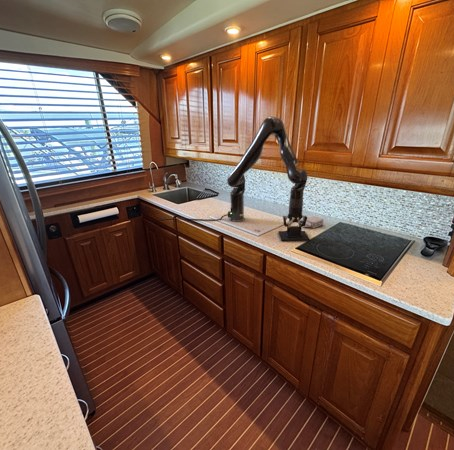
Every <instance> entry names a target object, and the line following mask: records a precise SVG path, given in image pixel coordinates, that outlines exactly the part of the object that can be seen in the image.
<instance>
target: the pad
mask: <svg viewBox="0 0 454 450" xmlns="http://www.w3.org/2000/svg"><path fill="white" fill-rule="evenodd" d="M298 226H299V225H290V233H289V234H290V235H300V229H299V227H298Z"/></svg>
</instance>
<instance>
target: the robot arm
mask: <svg viewBox="0 0 454 450" xmlns="http://www.w3.org/2000/svg"><path fill="white" fill-rule="evenodd" d="M271 136H274V138H275V139H276V140H277V143H278V146H279V153H280V154H279V155H280V157H281V161H282V162H283V164H284V166H285V170H286V174H287V178H288V180H289V181H290V183H292V184H294V185H293V186H292V187H291V188H290V192H289V193H290V195H289V200H288V213H287V215H283V216H282V220H283V225H284V227H285V228H286V231H287V232H288V233H290V226H292V224H293V223H296V224H298V225H297V226H298V227H299V229H300V232H301V231H302V228H303V227H305V224H306V221H307V217H308V216H307V215H303V208H304V190H305V188H306V184H307V182H308V172H307V171H306V169H304V168H298V169H297V165H298V164H299V160H298V158H297V156H296V154H295V152H294V150H293V147H292V145H291V143H290V140H289V137H288V134H287V130H286V127H285V124H284V122H283V120H282V119H281V118H279V117H275V116H267V117H266V118H265V119H264V120H263V121H262V123H261V125H260V126H259V129H258V130H257V132H256V134H255V136H254V138H253V139H252V141H251V143H250V144H249V146H248V147H247V149H246V151H245V152H244V153H243V155H242V156H241V158H240V160H239V161H238V163H237V165H236V166H235V167H234V169H232V170H231V172H230V173H229V174H228V176H227V179H226V181H227V185H228V186H229V187H230V188H233V189H232V190H231V191H230V193H229V197H230V211H229V210H228V211H227V213H226V214H224V215H222V216H221V217H220V218H217V219H213V218H212V219H209V218H208V219H207V218H206V219H203V218H185V217H184V218H183V217H182V218H178V217H177V218H175V217H174V218H160V219H158V221H160V222H161V221H172V220H176V221H177V220H185V221H186V220H187V221H188V220H189V221H206V222H207V221H210V222H211V221H213V222H215V221H221V220H222V219H223V218H224V217H227V219H230V221H231V222H243V221H244V220H245V204H244V203H245V201H244V200H245V192H246V176H245V174H246V173H247V172H248V171H249V170H251V169H252V168H253V167H254V166H255V165H256V164H257V163H258V161H259V160H260V158H261V156H262V155H263V150H264V146H265V144H266V141H267V140H268V139H269V138H270V137H271ZM287 220H288V222H287ZM301 220H302V222H301Z"/></svg>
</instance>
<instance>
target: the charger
mask: <svg viewBox="0 0 454 450" xmlns="http://www.w3.org/2000/svg"><path fill="white" fill-rule="evenodd" d="M323 225H324V218H323V217H319V216H316V215H310V216H307V221H306V224H305V226H304V227H305V228H308V227H309V228H311V229H316V228H318V227H321V226H323Z"/></svg>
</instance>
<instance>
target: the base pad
mask: <svg viewBox="0 0 454 450" xmlns="http://www.w3.org/2000/svg"><path fill="white" fill-rule="evenodd" d="M278 236H279V238H280V241H281V242H310V241H311V239H310V237H309V235H308V234H307V232H306V231H305V230H301V232H300V235H290V234H289V233H288V232H287V230H278Z"/></svg>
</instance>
